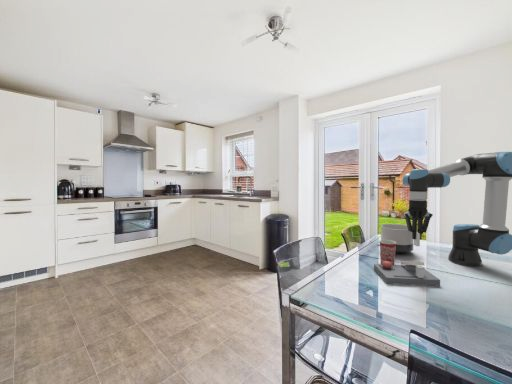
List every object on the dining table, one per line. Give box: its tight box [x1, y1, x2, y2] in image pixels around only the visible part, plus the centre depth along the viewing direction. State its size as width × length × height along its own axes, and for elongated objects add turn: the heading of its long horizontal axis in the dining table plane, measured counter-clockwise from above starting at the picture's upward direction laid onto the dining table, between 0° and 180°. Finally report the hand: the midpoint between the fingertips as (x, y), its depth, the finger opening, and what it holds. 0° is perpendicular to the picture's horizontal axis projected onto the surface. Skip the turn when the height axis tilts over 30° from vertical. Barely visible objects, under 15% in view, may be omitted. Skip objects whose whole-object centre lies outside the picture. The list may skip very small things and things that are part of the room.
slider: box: [416, 265, 426, 278], centre depth 114 cm, size 3×3×5 cm
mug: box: [379, 239, 397, 265], centre depth 142 cm, size 13×9×14 cm
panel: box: [373, 263, 441, 287], centre depth 122 cm, size 24×18×5 cm
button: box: [381, 261, 392, 268], centre depth 127 cm, size 4×4×2 cm
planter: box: [380, 223, 414, 254], centre depth 161 cm, size 19×19×18 cm
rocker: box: [400, 260, 425, 266], centre depth 124 cm, size 6×12×2 cm, turn 171°
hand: (416, 245), depth 119 cm, fingers closed
